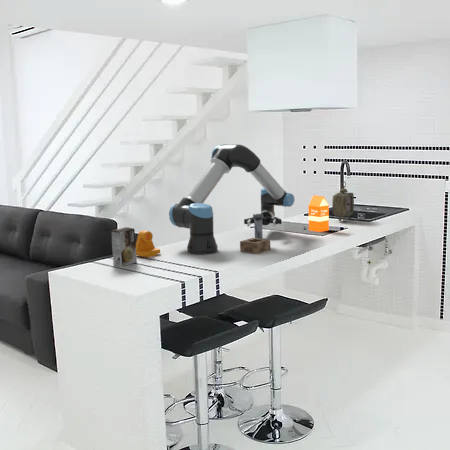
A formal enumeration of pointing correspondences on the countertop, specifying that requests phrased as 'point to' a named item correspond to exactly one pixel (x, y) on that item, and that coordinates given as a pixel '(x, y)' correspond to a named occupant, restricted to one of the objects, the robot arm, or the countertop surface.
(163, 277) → the countertop surface
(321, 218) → the orange juice
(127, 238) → the coffee box
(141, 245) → the bracket
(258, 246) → the socket block
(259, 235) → the steel pin
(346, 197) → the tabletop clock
